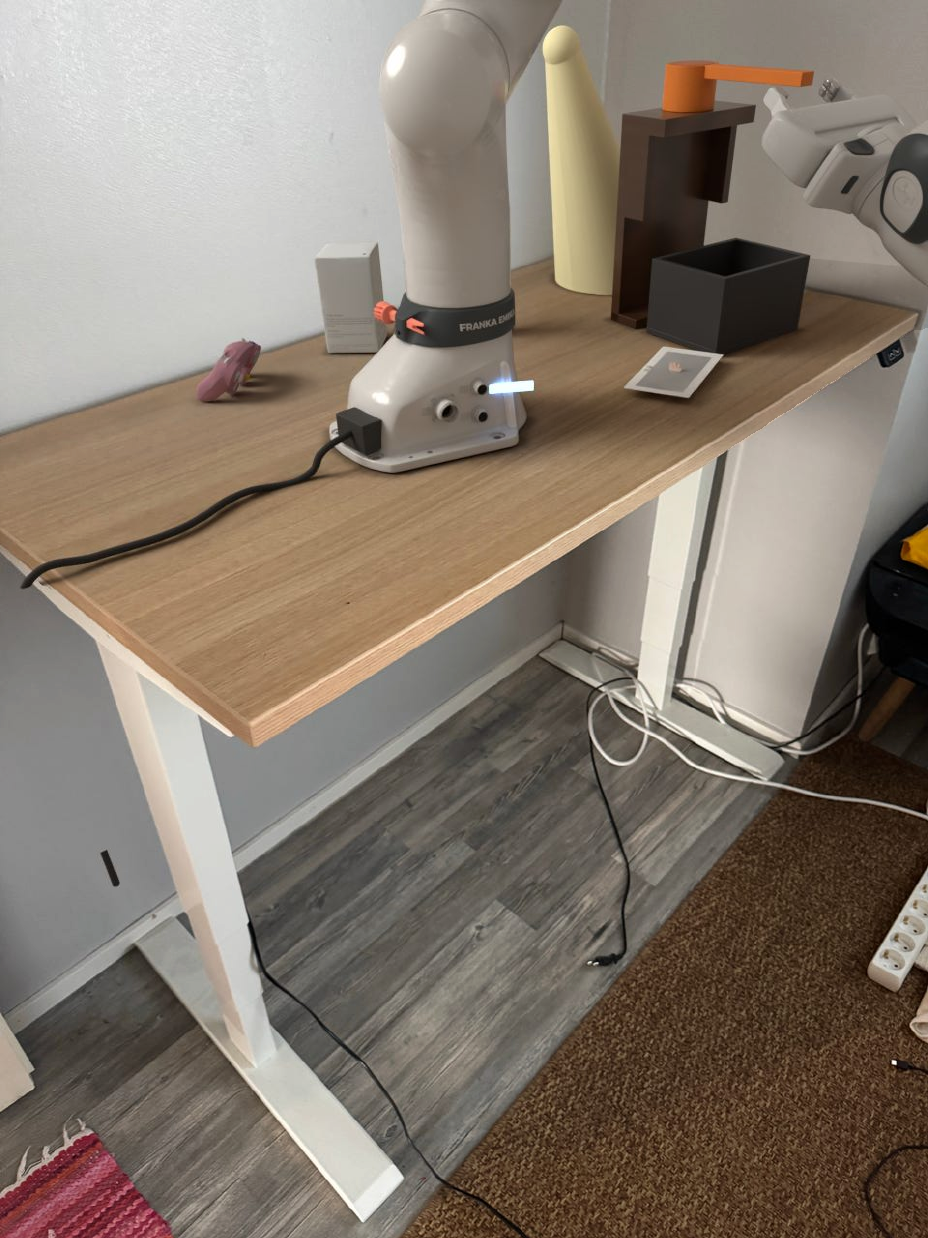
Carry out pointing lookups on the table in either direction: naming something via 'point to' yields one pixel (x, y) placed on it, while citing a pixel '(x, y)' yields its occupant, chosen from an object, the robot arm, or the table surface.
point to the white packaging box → (350, 296)
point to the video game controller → (229, 370)
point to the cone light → (580, 169)
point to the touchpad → (674, 372)
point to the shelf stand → (667, 192)
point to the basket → (726, 295)
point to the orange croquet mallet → (697, 79)
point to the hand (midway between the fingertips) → (798, 88)
